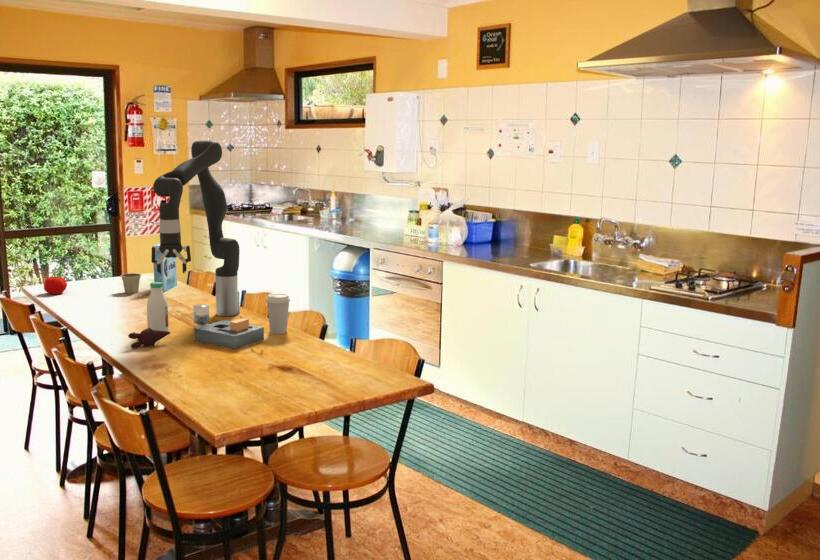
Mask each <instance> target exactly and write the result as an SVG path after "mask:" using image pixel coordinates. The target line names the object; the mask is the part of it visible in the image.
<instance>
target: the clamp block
mask: <svg viewBox="0 0 820 560" xmlns="http://www.w3.org/2000/svg"><path fill="white" fill-rule="evenodd" d="M230 321H231V320H230ZM249 325H250V320H249V319H248V318H243V317H242V318H239V319H234V320H232V321H231V322H230V330H233V331H236V332H238V331H241V330H244V329H247V328H249Z"/></svg>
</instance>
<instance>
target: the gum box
mask: <svg viewBox="0 0 820 560" xmlns="http://www.w3.org/2000/svg"><path fill="white" fill-rule="evenodd" d="M153 246H155V247H160V243H157V244H155V245H153ZM161 255H162V253H161V251H160V250H158V251H157V252H156V253H155V259H156V260H158V259H159V258H160V256H161ZM160 263H161V274H159V272H157V264H156V263H152V264H153V282H162V283H163V288H162V291H163V293H165V292H166V291H168V290H171V289H172V288H174V287H175V286H177V285H178V273H177V257H176V258H172V257H170V258H166V257H164V259H163V260H162V261H161V262H160Z"/></svg>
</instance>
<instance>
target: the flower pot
mask: <svg viewBox="0 0 820 560" xmlns="http://www.w3.org/2000/svg"><path fill="white" fill-rule="evenodd" d="M141 276H142V274H141V273H136V272H135V273H134V272H131V273H123V274H121V275H120V277H121V280H122V284H123V290H124V294H128V295H129V294H138V293H139V289H140V280H141Z"/></svg>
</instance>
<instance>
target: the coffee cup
mask: <svg viewBox="0 0 820 560" xmlns="http://www.w3.org/2000/svg"><path fill="white" fill-rule="evenodd" d="M265 302H266V304H267V315H268V325H269V326H268V327H269V333H270V334H272V335H285V334H286V333H287V331H288V330H287V329H288V319H289V310H290V309H289V307H290V302H291V298H290V297H289V294H287V293H279V292H277V293H269V294H268V295H267V297H266V298H265Z"/></svg>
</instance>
